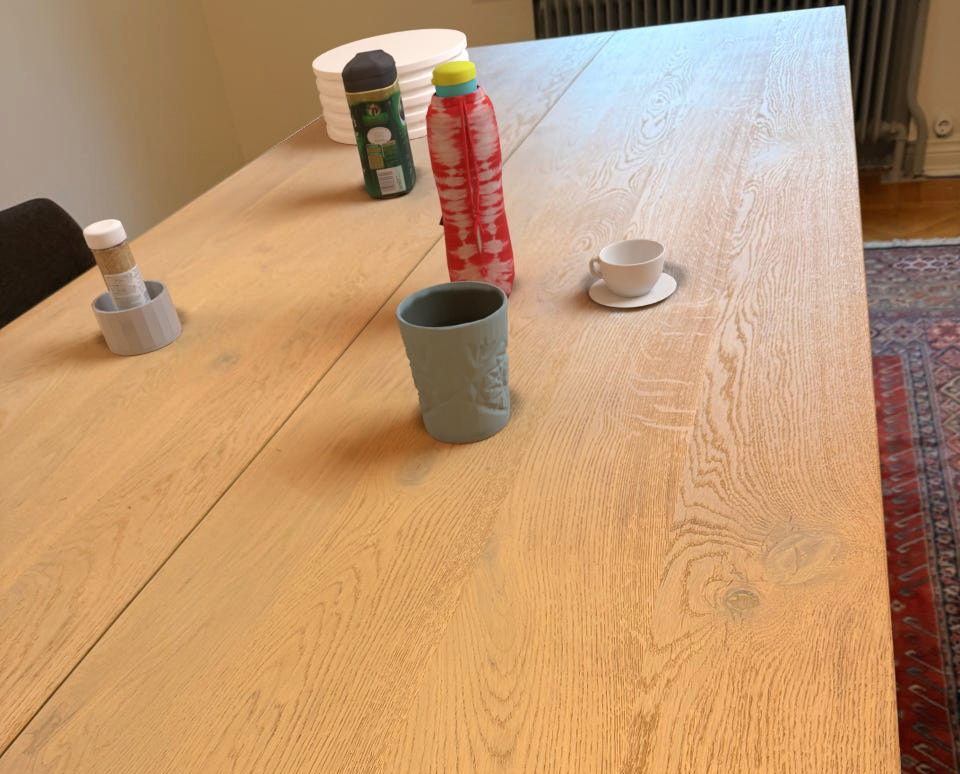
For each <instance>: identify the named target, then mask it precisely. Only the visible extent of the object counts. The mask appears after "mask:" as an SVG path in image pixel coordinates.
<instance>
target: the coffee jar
mask: <svg viewBox="0 0 960 774" xmlns="http://www.w3.org/2000/svg"><path fill="white" fill-rule="evenodd" d="M395 63H396V62H395V61H394V58H393V57H392V56H391V55H390V54H388V53H386V52H384V51H383V50H382V49H379V50H372V51H366V52H360V53H357V54H356V56H355V57H354V58H353V59H351V60H350V61H349V62H348V63H347V64H346V65H345V67H344V69H343V71H342V78H343V84H344V89H345V94H346V98H347V102H348V106H349V111H350V115H351V120H352V124H353V129H354V133H355V138H356V142H357V145H356V146H357V151H358V155H359V160H360V164H361V170H362V175H363V179H364V184H365V190H366V193H367V195H368V196H369V197H370V198H380V199H393V198H397V197H398V196H400V195H403V194H406V193H409V192H411V191H412V190H413V189H414V187H415V184H416V181H417V175H416V174H417V173H416V167H415V162H414V156H413V152H412V147H411V142H410V140H409V136H408V130H407V124H406V119H405V114H404V108H403V103H402V97H401V92H400V86H399V81H398V75H397V70H396V65H395Z"/></svg>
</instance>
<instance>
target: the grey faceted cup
mask: <svg viewBox="0 0 960 774" xmlns="http://www.w3.org/2000/svg"><path fill="white" fill-rule="evenodd" d="M143 281H144V284H145V286H146V289H147V292H148V294H149V297H150V299H151V301H149V302H147V303H145V304H143V305H140V306H138V307H134V308H131V309H127V310H121V311H116V309H115V307H114V304H113V302H112V300H111V297H110V295H109V292H108V289H107V290H105V291H104V292H102V293H100V294H99V295H98V296H96V297H95V298H94V299H93V300H92V303H91V304H90V306H91V310H92V312H93V314H94V317H95V319H96V322H97V323H98V326H99V329H100V330H101V333H102V335H103V337H104V340H105V342H106V344H107V346H108V348H109V350H110V352H111V353H113V354H115V355H117V356H126V357H127V356H128V357H129V356H137V355H144V354H148V353H151V352H154V351H157V350H160V349H162V348H165V347H167V346H168V345H170V344H172V343H173V342H174V341H176V340H177V339H178V338H179V337H180V336H181V334H182V333H183V326H182V323H181V321H180V317H179V316H178V315H179V314H178V313H177V310H176V307H175V304H174V302H173V299H172V297H171V293H170V291H169V289H168V286H167V284H166V282H164V281H162V280H160V279H159V280H158V279H143Z"/></svg>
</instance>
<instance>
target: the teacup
mask: <svg viewBox="0 0 960 774" xmlns="http://www.w3.org/2000/svg"><path fill="white" fill-rule="evenodd" d="M665 254H666V248H665V245H664V244H663V243H661V242H659V241H658V240H655V239H649V238H629V239H628V238H627V239H622V240H618V241H614V242H613V243H610V244H608V245H606V246H604V247H603V248H602V249H601V250H600V251H599V252H598V255H595V256H592V258H591V259H590V261H589V263H588V265H589V272H590V274H592V276H594V277H595V278H597V279H598V280H596V281H594V282H593V283H592V285H591V286H590V287H589V290H588V294H589V295H588V296H589V297H590V298H591V300H593V301H594V302H595V303H597V304H600V305H603V306H607V307H613V308H636V307H643V306H648V305H652V304H654V303H658V302H660V301H663V300H665V299H667V298H668V297H669V296H671V295H672V294H673V293H674V292H675V291H676V289H677V281H676V279H675V278H674V277H673V276H671V275H670V274H668V273H665V272H663V270H664V265H665V264H664V263H665V256H666V255H665ZM595 263H597V264H598V265H599V268H600V271H599V270H597V269H596V266H595Z"/></svg>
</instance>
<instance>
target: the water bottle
mask: <svg viewBox="0 0 960 774" xmlns="http://www.w3.org/2000/svg"><path fill="white" fill-rule="evenodd" d="M432 74H433V78H432V79H431V83H432V84H433V85H435V90H436V92H435V93H434V94H433V95H432V98H431V104H430V105H429V106H428V110H427V114H426V126H427V136H426V140H427V147H428V152H429V153H428V154H429V159H430V166H431V171H432V174H433V178H434V183H435V186H436V190H437V194H438V198H439V205H440V211H441V217H440V220H439V223H438V225H439V226H442V227H443V235H444V246H445V255H446V265H447V270H448V276H449V282H460V281H476V282H485V283H489V284H492V285H495V286H497V287H499V288H500V289H502V290H503V291H504V292H505V294H506V296H507V300H508V299H509V297H510V294H511V293H512V290H513V286H514V281H515V276H516V270H515V259H514V251H513V246H512V245H513V244H512V240H511V234H510V230H509V223H508V217H507V214H506V213H507V212H506V206H505V198H504V190H503V165H502V163H503V162H502V148H501V141H500V133H499V125H498V120H497V116H496V112H495V108H494V105H493V102H492V100H491V98H490V97H489V95H488V94H486V93H485V91H484V89H483V86H480V85H479V84H478V83H477V72H476V64H475V63H474V62H472V61H470V60H469V61H460V60H459V61H451V62H447V63H444V64H442V65H439V66H437V67H435V69H434V70H433V72H432Z"/></svg>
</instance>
